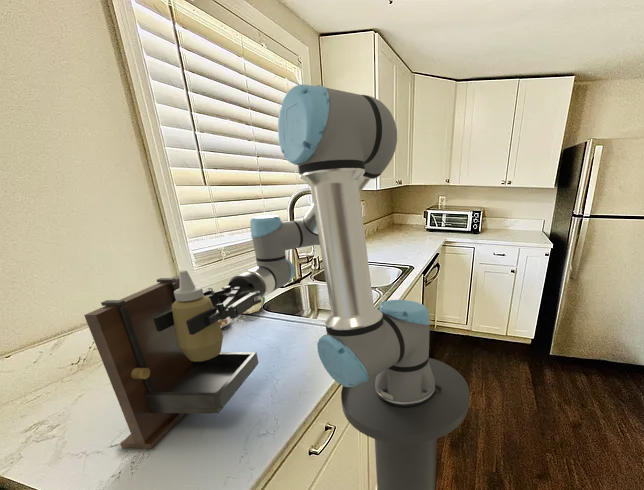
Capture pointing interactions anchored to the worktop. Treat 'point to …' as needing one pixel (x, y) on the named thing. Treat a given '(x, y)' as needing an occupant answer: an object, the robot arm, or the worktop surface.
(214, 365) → the door rack
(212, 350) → the squeeze bottle
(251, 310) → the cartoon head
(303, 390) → the worktop surface
